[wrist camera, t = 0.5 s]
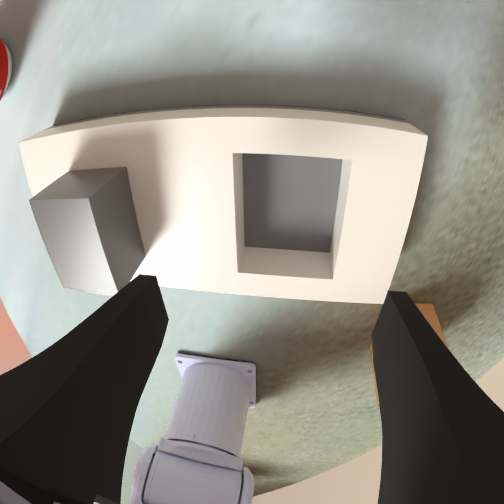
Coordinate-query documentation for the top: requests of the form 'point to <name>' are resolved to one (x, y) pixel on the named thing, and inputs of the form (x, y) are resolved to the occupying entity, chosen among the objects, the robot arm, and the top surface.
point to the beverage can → (4, 67)
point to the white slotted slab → (228, 200)
